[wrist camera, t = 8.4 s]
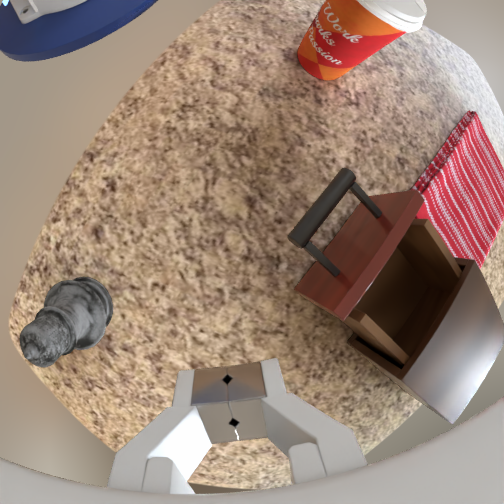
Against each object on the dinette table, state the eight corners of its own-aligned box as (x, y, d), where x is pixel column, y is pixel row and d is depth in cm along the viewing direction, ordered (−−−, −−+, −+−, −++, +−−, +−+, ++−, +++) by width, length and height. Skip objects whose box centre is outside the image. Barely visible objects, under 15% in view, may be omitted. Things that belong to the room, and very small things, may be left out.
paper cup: (280, 31, 25) (333, -55, 11) (341, 37, 26) (408, -29, 13) (296, 89, 26) (370, 9, 12) (359, 92, 27) (445, 36, 14)
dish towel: (392, 207, 29) (408, 206, 26) (464, 108, 31) (476, 104, 29) (451, 305, 33) (464, 310, 30) (507, 196, 35) (519, 196, 32)
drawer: (252, 254, 25) (280, 265, 18) (330, 160, 26) (378, 140, 19) (375, 359, 29) (419, 388, 22) (430, 278, 30) (479, 290, 22)
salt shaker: (81, 260, 23) (10, 283, 11) (128, 304, 24) (87, 361, 13) (49, 305, 23) (-21, 350, 11) (93, 347, 24) (45, 417, 12)
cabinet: (346, 342, 29) (400, 380, 20) (410, 251, 30) (475, 259, 21) (406, 392, 32) (452, 424, 23) (457, 317, 33) (508, 334, 24)
